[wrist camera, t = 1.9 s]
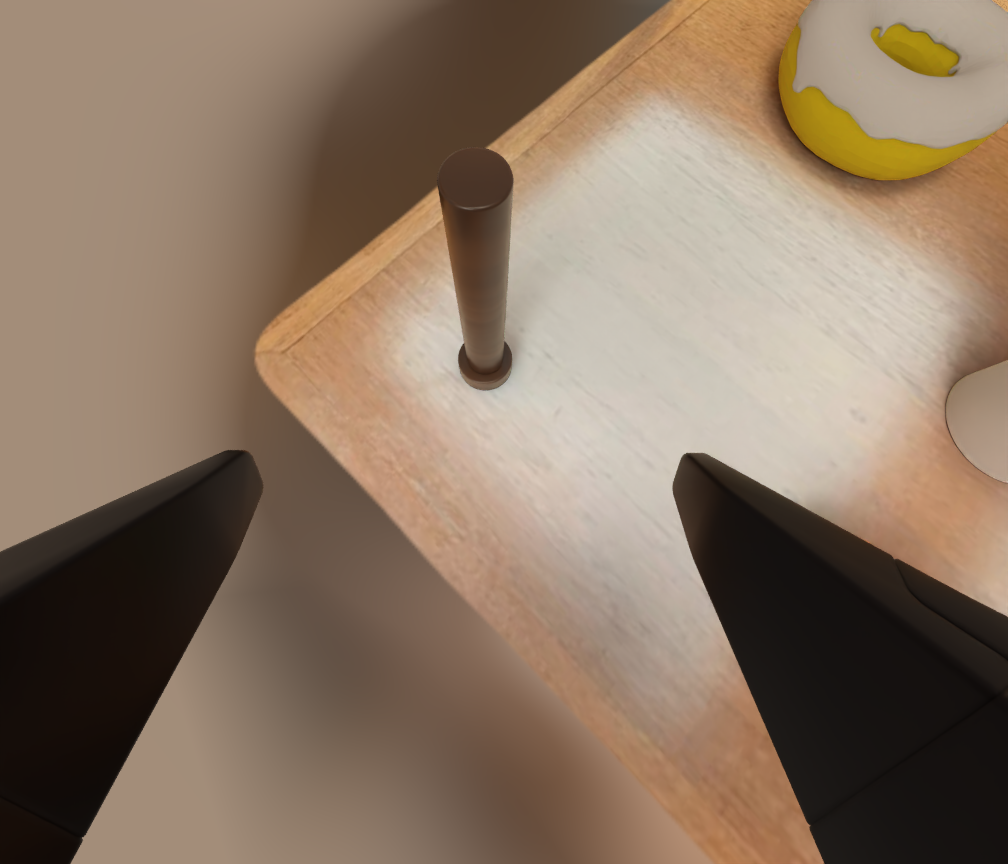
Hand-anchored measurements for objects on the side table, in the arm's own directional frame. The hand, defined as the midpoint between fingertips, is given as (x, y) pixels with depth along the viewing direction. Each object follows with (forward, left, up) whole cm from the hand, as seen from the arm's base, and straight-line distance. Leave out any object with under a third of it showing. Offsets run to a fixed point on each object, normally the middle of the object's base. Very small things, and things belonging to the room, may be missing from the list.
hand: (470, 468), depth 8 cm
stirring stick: (+8, 0, -13) cm, 15 cm away
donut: (+26, -27, -13) cm, 40 cm away
